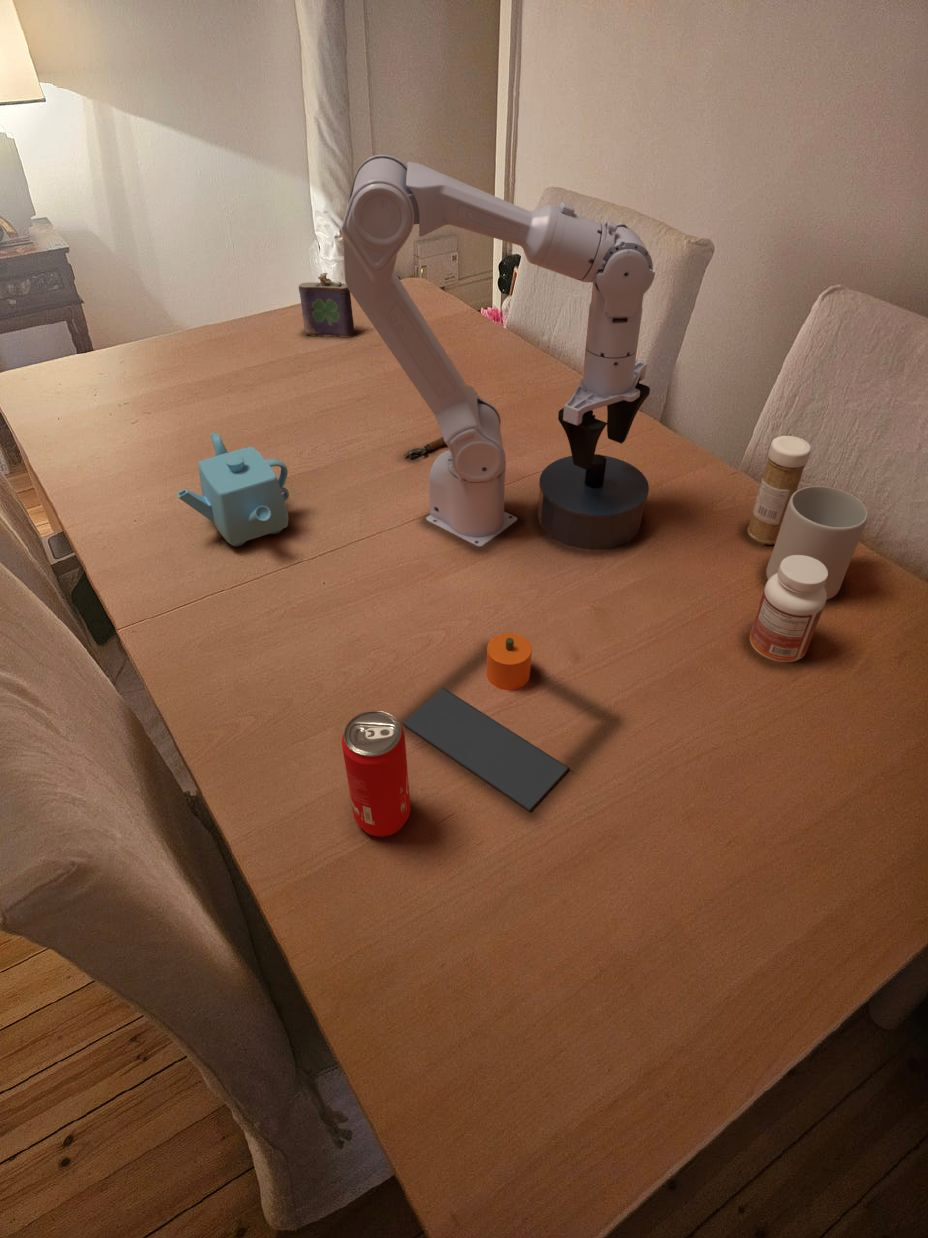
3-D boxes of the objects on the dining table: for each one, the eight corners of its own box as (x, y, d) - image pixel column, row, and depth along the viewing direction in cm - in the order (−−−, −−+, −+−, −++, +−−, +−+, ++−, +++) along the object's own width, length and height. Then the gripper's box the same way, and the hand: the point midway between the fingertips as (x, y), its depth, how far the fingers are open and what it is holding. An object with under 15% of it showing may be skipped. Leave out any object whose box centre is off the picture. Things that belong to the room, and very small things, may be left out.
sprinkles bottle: (789, 538, 105) (820, 446, 96) (765, 550, 103) (794, 458, 94) (762, 520, 108) (789, 430, 99) (738, 532, 106) (763, 440, 97)
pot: (518, 525, 108) (520, 489, 104) (575, 482, 115) (579, 447, 111) (603, 566, 101) (608, 530, 98) (658, 517, 109) (665, 482, 105)
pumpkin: (477, 676, 87) (478, 641, 84) (504, 653, 90) (506, 618, 86) (512, 697, 85) (514, 662, 81) (538, 672, 88) (541, 638, 84)
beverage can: (354, 794, 77) (341, 710, 69) (410, 790, 77) (403, 706, 69) (353, 843, 73) (339, 760, 65) (412, 838, 73) (405, 755, 65)
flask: (303, 335, 150) (295, 276, 143) (307, 329, 152) (299, 269, 145) (353, 338, 149) (347, 278, 142) (356, 331, 152) (351, 272, 144)
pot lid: (517, 494, 104) (518, 462, 101) (578, 449, 112) (582, 419, 109) (609, 536, 98) (613, 504, 94) (667, 486, 105) (674, 455, 102)
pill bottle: (779, 620, 94) (806, 543, 86) (818, 654, 90) (850, 577, 82) (736, 636, 92) (760, 559, 85) (773, 672, 88) (802, 595, 80)
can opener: (452, 437, 123) (452, 430, 123) (461, 444, 122) (461, 437, 121) (400, 455, 120) (400, 448, 119) (408, 462, 119) (408, 455, 118)
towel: (402, 725, 83) (402, 722, 83) (489, 649, 91) (489, 647, 90) (529, 812, 75) (529, 809, 75) (612, 721, 83) (613, 719, 83)
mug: (807, 614, 95) (836, 538, 87) (750, 575, 100) (773, 500, 92) (872, 577, 100) (905, 502, 92) (814, 541, 105) (841, 467, 97)
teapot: (320, 545, 104) (310, 478, 98) (213, 582, 99) (194, 514, 92) (269, 478, 116) (256, 413, 109) (170, 508, 111) (151, 442, 104)
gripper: (605, 381, 86) (593, 490, 95) (675, 334, 94) (658, 439, 103) (551, 362, 89) (544, 469, 98) (622, 318, 97) (610, 421, 106)
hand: (599, 452), depth 101 cm, fingers open, 7 cm apart
